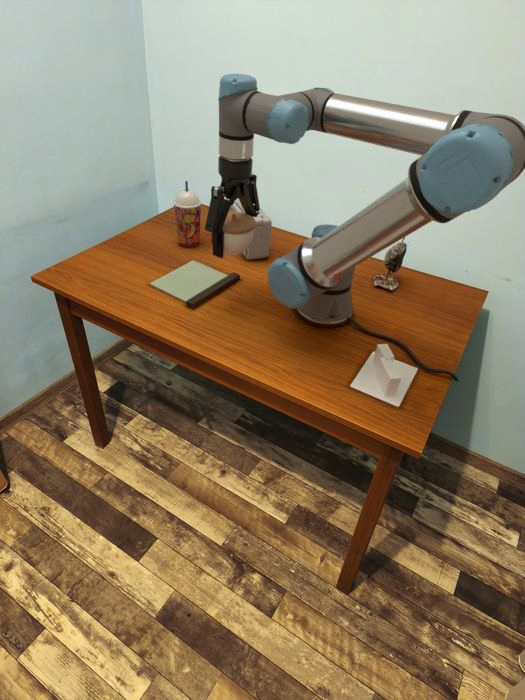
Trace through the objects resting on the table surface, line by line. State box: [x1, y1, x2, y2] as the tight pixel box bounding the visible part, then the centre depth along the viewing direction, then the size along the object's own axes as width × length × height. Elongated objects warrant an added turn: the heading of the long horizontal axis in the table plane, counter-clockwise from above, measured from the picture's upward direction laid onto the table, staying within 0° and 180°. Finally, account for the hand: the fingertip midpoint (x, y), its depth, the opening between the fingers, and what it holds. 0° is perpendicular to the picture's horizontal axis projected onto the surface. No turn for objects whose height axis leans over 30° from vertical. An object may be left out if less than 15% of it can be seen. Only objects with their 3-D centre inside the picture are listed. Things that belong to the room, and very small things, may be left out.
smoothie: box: [172, 180, 202, 248], centre depth 142 cm, size 8×8×20 cm
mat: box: [149, 259, 229, 304], centre depth 130 cm, size 14×18×1 cm
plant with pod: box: [373, 237, 410, 291], centre depth 131 cm, size 8×11×20 cm
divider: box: [185, 271, 241, 310], centre depth 126 cm, size 2×20×2 cm, turn 144°
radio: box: [225, 197, 273, 261], centre depth 143 cm, size 21×8×20 cm, turn 22°
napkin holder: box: [349, 343, 419, 408], centre depth 102 cm, size 15×11×6 cm
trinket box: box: [217, 211, 256, 256], centre depth 112 cm, size 11×11×9 cm
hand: (232, 247), depth 114 cm, fingers closed on trinket box, 11 cm apart
